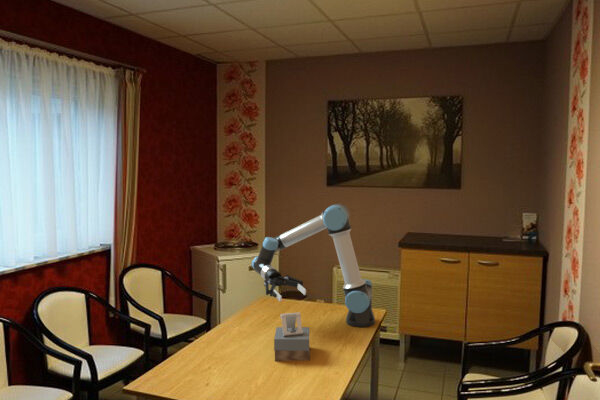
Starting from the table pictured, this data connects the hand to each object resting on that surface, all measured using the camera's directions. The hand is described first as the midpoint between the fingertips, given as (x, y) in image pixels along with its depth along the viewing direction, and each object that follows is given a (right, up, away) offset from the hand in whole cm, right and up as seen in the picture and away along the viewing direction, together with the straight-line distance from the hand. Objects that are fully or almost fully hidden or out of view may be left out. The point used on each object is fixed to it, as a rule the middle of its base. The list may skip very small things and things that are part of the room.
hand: (293, 295), depth 228 cm
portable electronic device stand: (-1, -14, -13) cm, 19 cm away
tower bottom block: (0, -24, -12) cm, 27 cm away
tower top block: (0, -19, -12) cm, 23 cm away
